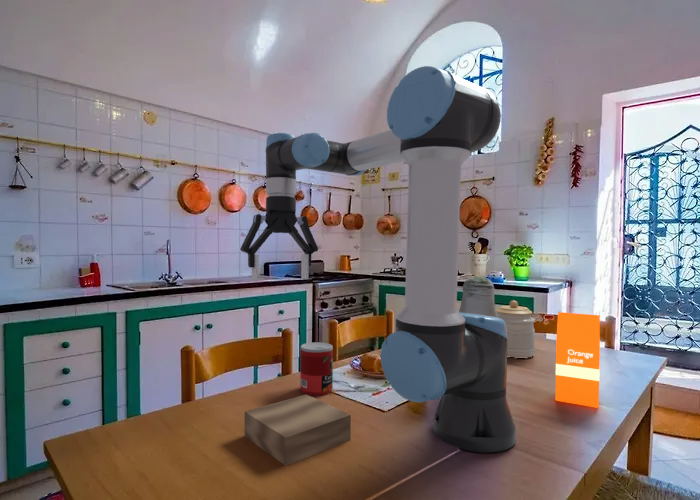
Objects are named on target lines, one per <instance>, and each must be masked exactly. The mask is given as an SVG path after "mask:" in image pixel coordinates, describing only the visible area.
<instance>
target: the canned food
mask: <svg viewBox="0 0 700 500" xmlns="http://www.w3.org/2000/svg"><path fill="white" fill-rule="evenodd" d="M333 351H334V348H333V345H332V344H330V343H327V342H320V341H319V342H317V341H316V342H313V341H312V342H306V343H303V344H301V345H300V352H299V353H300V354H299V355H300V356H299V361H300V362H299V363H300V364H299V366H300V369H299V370H300V372H299V375H300V377H299V378H300V379H299V381H300V386H299V387H300V391H301V393H303V395H305V394H306V395H309V396H312V397H313V396H315V397H318V396H324V395H328V394H330V393H332V391H333V386H334V385H333V378H334V377H333V375H334V374H333V373H334V372H333V371H334V368H333V366H334V361H333V360H334V352H333Z"/></svg>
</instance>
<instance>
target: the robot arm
mask: <svg viewBox="0 0 700 500" xmlns="http://www.w3.org/2000/svg"><path fill="white" fill-rule="evenodd" d="M501 115H502V114H501V108H500V106H499V102H498V100H497V99H496V97H495V96H494V94H493V93H492V92H491V91H490V90H488V89H487V88H485V87H484V86H481V85H479V84H475V83H474V82H471V81H469V80H466V79H464V78H462V77H459V76H457V75H455V74H453V73H452V72H451V71H450V70H447V69H441V68H438V67H434V66H430V65H428V66H427V65H425V66H424V65H423V66H420V67H417V68H415V69H413V70H411V71H410V72H408V73H407V74H406V75H404V76H403V77H402V78H401V80H400V81H399V83H398V84H397V86H396V87H394V89H393V91H392V93H391V95H390V97H389V101H388V103H387V110H386V122H387V125H388V128H389V129H388V130H384V131H381V132H378V133H374V134H372V135H368V136H365V137H361V138H358V139H355V140H352V141H348V142H344V143H343V142H337V141H332V140H327V139H326V138H325V137H324V136H323V135H322V134H320V133H318V132H309V133H304V134H301V135H298V136H296V137H295V135H293V134H290V133H286V132H277V133H274V132H273V133H271V134H269V135H268V136H267V137H266V144H265V169H266V170H265V177H266V180H265V194H266V195H267V197H266V198H265V212H266V213H265V215H261V214H260V213H258V214H254V215H253V218H252V224H251V226H250V229H249V231H248V232H247V234H246V236H245V238H244V240H243V242H242V244H241V246H240V251H241V252H243V253H245V254H247V266H248V268H251V281H252V282H259V254H256V253H257V251H258V250H259V249H260V248H261V247H262V246H263V244H264V243H265V242H266V241H267V239H268V238H269V237H270V236H271V235H272V234H289V236H291V237H292V239H294V240H293V241H295V243H296V244H297V245H298V246H299V247H300V249H301V250H302V252H303V253H301V255H300V256H301V261H300V263H301V265H300V267H301V272H300V273H301V274H300V275H301V277H300V278H301V279H302V280H309V267H311V265H312V255H313V253H315V252H318V251H319V247H318V245H317V242H316V241H315V238H314V236H313V234H312V231H311V229H310V226H309V224H308V217H307V216H306V215H303V216H297V215H296V212H297V199H296V197H295V196H296V195H297V174H296V173H297V171H299V170H314V171H317V172H318V171H320V172H326V173H333V174H339V175H345V176H349V177H350V176H357V177H359V176H360V175H364V173H365V172H366V171H367V170H369V169H375V168H379V167H383V166H384V167H385V166H388V165H393V164H394V165H395V164H398V163H402V162H405V163H406V164H407V165H408V182H407V183H408V184H407V185H408V186H407V188H408V189H407V191H408V192H407V218H406V219H407V222H406V256H405V286H404V287H405V288H404V289H405V290H404V292H405V293H404V295H405V296H404V307H402V308H401V310H399V311H398V312H397V313H396V314H395V328H394V329H395V330H394V332H392V333H390V334H388V336H386V339H385V340H384V341H383V342H382V344H381V349H380V363H381V368H382V371H383V375H384V377H385V378H386V381H387V382H388V383H389V384H390V386H391V388H392V389H393V391H394V392H396V393H397V394H398V395H399V396H400V397H401V398H403V399H405V400H408V401H410V402H412V403H424V402H427V401H436V400H438V399H439V402H438V405H437V407H436V410H435V413H434V417H433V424H432V425H433V433H434V434H435V436H436V437H437V438H438V439H439V440H441V441H443V442H445V443H447V444H449V445H450V446H453V447H457V448H459V449H460V450H463V451H468V452H475V453H496V452H497V453H498V452H503V451H506V450H508V449H511V448H512V447H513V446H514V445H515V444H516V441H517V440H516V439H517V430H516V425H515V423H514V422H515V421H514V418H513V415H512V412H511V408H510V405H509V402H508V400H507V379H508V378H507V376H508V375H507V373H508V372H507V371H508V370H507V369H508V357H507V341H508V337H507V326H506V323H505V322H504V320H502V319H500V318H497V317H492V316H485V315H478V314H470V313H460V312H459V309H458V308H457V303H458V297H457V296H458V275H459V274H458V272H459V271H458V270H459V269H458V268H459V241H460V240H459V239H460V209H461V182H462V181H461V179H462V178H461V177H462V176H461V175H462V165H463V163H465V161H466V160H467V159H468V158H470V157H471V155H472V153H474V152H478V151H479V150H481V149H483V148H485V147H486V146H488V145H489V143H491V142H492V141H493V139H495V136H496V135H497V133H498V131H499V128H500V125H501V124H500V123H501V117H502V116H501ZM263 223H265V224H266V227H265V228H264V229H263V231H262V232H261V234H260V235H258V238H257V239H256V240H255V241H254V239H255V237H256V235H257V233H258V230H259V229H260V227H261V225H262V224H263ZM296 224H297V225H299V227H300V230H301V233H302V234H303V236H304V237H303V236H302V235H301V233H299V231H298V229H297V228H296V226H295V225H296ZM252 243H253V244H252Z"/></svg>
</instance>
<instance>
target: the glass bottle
mask: <svg viewBox="0 0 700 500" xmlns="http://www.w3.org/2000/svg"><path fill="white" fill-rule="evenodd" d="M495 303H496V302H495V286H494V283H493V281H492V280H491V279H489V278H487V277H486V276H485V277H484V276H473V277H469V278H467V279H465V281H464V283H463V286H462V298H461V302H460V307H459V309H458V312H460V313H470V314H478V315H485V316H492V317H497V312H496V309H497V308H496V305H495ZM497 318H498V317H497Z"/></svg>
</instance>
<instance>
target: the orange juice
mask: <svg viewBox="0 0 700 500" xmlns="http://www.w3.org/2000/svg"><path fill="white" fill-rule="evenodd" d="M600 319H601V316H600V315H599V314H590V313H589V314H588V313H587V314H586V313H575V312H574V313H573V312H561V311H560V312H559V311H558V313H557V324H556V338H555V339H556V342H555V344H556V347H555V397H554V398H555V401H556V402H561V403H567V404H574V405H580V406H583V407H584V406H585V407H592V408H596V409H598V408H600V404H599V403H600V377H601V376H600V368H601V367H600V363H601V361H600V360H601V357H600V355H601V353H600V352H601V349H600V348H601V339H600V337H601V335H600V333H601V329H600V328H601V327H600V326H601V322H600Z"/></svg>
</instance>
